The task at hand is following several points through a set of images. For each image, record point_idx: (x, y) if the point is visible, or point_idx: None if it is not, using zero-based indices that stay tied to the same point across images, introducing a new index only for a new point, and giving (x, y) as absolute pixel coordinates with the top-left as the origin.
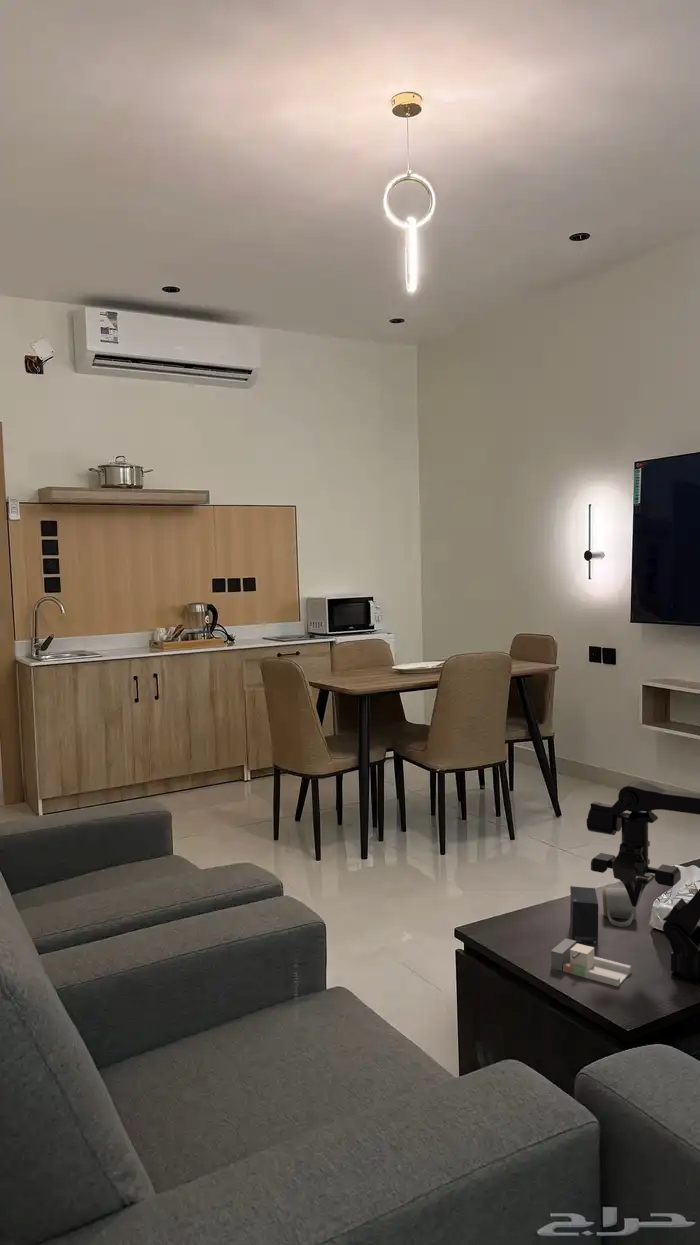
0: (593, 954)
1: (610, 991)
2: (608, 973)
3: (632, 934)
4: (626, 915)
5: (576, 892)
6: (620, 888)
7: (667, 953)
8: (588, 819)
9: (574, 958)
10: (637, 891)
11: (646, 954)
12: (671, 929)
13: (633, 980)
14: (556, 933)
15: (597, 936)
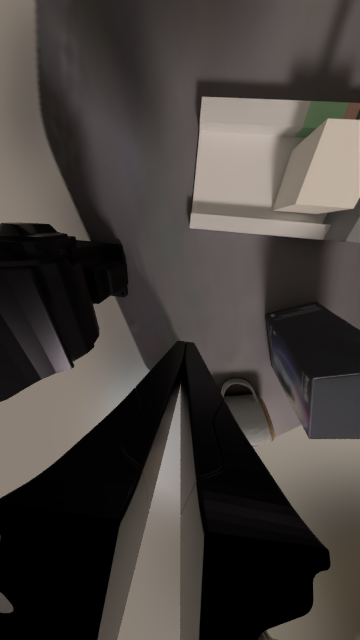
0: (288, 199)
1: (216, 47)
2: (235, 181)
3: (215, 365)
4: (229, 398)
5: None
6: None
7: (158, 330)
8: None
9: None
10: (135, 412)
11: (183, 315)
12: (9, 236)
13: (177, 187)
14: None
15: (272, 323)
